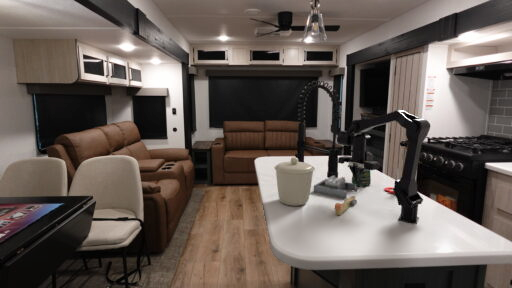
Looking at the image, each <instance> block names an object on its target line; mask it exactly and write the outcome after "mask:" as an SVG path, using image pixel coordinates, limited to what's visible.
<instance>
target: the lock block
mask: <svg viewBox="0 0 512 288" xmlns="http://www.w3.org/2000/svg"><path fill="white" fill-rule="evenodd" d="M325 179H326V181H325V187H328V188H333V189H338V190H344V191H346V189H345V182H346V178H345V177H343V176H342V177H340V178H339V177H336V175H331V176H330V177H328V178H325Z"/></svg>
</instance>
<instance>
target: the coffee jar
mask: <svg viewBox="0 0 512 288" xmlns="http://www.w3.org/2000/svg"><path fill="white" fill-rule="evenodd" d="M367 153H368V154H371V155H373V153H372V152H370V151H367ZM365 162H369V161H365ZM351 177H352V178H351V183H353V184H356V187H357V186H358V187H365V186H370V185H371V184H372V183H371V179H372V177H371V170H368V169H364V171H363V172H362V174H361V176H360V179H359V181H355V178H354V176H353V174H352V175H351Z"/></svg>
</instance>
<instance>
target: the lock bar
mask: <svg viewBox="0 0 512 288" xmlns="http://www.w3.org/2000/svg"><path fill="white" fill-rule="evenodd" d="M348 198H349V199H347V198H346V199H347V200H346V201H345V202H344V201H343V203H341V202H340V203H339V202H337V203H335V204H334V210H335V213H334V214H335V215H336V216H341V215H342V214H343V213H344V212H346V210H348V208H349V207H352V201H354V200H356V196H354V195H351V196H350V197H348Z"/></svg>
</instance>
